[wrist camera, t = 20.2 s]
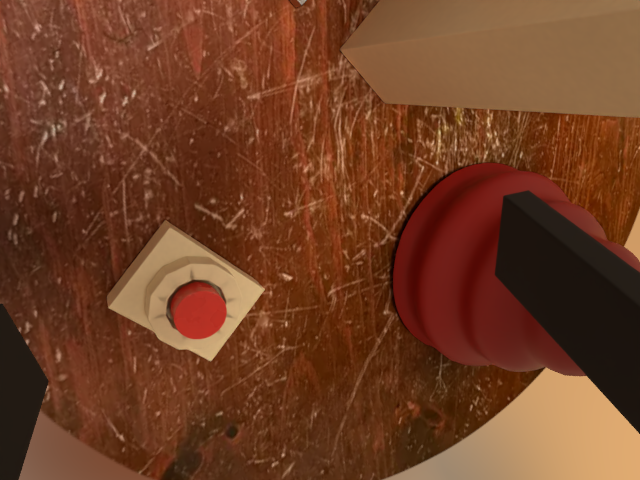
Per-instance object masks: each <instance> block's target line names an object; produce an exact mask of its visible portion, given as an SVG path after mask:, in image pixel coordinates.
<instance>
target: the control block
mask: <svg viewBox="0 0 640 480" xmlns="http://www.w3.org/2000/svg"><path fill="white" fill-rule="evenodd" d="M195 282H202V283H206V284H209V285H211V286H212V287H214V288H215V289H216V290H217V292H218V293H219V295H220V296H221V297H222V299H223V300H224V302H225V304H226V308H227V315H226V319H225V322H224V324H223V325H222V327H221V328H220V329H219V330H218V331H217V332H216V333H215V334H213V335H212V336H210V337H207V338H204V339H190V338H187V337H185V336H183V335H182V334H181V333H180V332H179V331H178V330H177V328H176V326H175V324H174V321H173V319H172V316H171V313H170V304H171V301H172V298H173V296H174V295H175V293H176V292H177V291H178V290H179V289H181V288H182V287H184V286H185V285H188V284H190V283H195ZM264 290H265V289H264V288H263V287H262V286H261V285H260V284H259V283H258V282H257V281H256V280H255V279H254V278H252V277H251V276H249V275H248V274H246V273H245V272H243V271H242V270H240V269H239V268H237V267H236V266H234V265H233V264H231V263H230V262H228V261H227V260H225V259H224V258H222V257H221V256H219V255H218V254H216V253H215V252H213V251H212V250H210V249H208V248H207V247H205V246H204V245H202V244H201V243H199V242H198V241H196V240H195V239H193V238H192V237H190V236H189V235H187V234H186V233H184V232H183V231H181V230H180V229H178V228H177V227H175V226H174V225H172V224H171V223H169V222H168V221H166V220H165V221H164V222H163V223H162V225H161V226H160V227H159V229H158V230H157V231H156V233H155V234H154V235H153V236H152V238H151V239H150V240H149V242H148V243H147V244H146V246H145V247H144V248H143V250H142V251H141V252H140V253H139V255H138V256H137V257H136V259H135V260H134V261H133V263H132V264H131V265H130V266H129V268H128V269H127V270H126V272H125V273H124V274H123V276H122V277H121V278H120V280H119V281H118V282H117V283H116V285H115V286H114V287H113V289H112V290H111V291H110V293H109V294H108V295H107V302H108V308H109V309H111V310H113V311H115V312H117V313H119V314H121V315H123V316H125V317H127V318H128V319H130V320H132V321H134V322H136V323H138V324H140V325H142V326H144V327H146V328H148V329H150V330H152V331H153V332H155V334H156V336H157V338H158V339H159V340H161V341H163V342H165V343H166V344H168V345H170V346H172V347H174V348H176V349H178V350H179V349H180V350H183V349H188V350H190V351H192V352H194V353H196V354H198V355H200V356H202V357H203V358H205V359H207V360H209V361H212V359H213V358H214V357H215V355H216V354H217V353H218V351H219V350H220V349H221V347H222V346H223V345H224V343H225V342H226V341H227V339H228V338H229V337H230V335H231V334H232V333H233V331H234V330H235V329H236V327H237V326H238V325H239V323H240V322H241V321H242V319H243V318H244V317H245V315H246V314H247V313H248V311H249V310H250V309H251V307H252V306H253V305H254V303H255V302H256V301H257V299H258V298H259V297H260V295H261V294H262V293H263V291H264Z"/></svg>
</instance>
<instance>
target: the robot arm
mask: <svg viewBox="0 0 640 480" xmlns="http://www.w3.org/2000/svg"><path fill="white" fill-rule="evenodd" d="M495 276H496V277H497V278H498V279H499V280H500V281H501V282H502V283H503V285H504V286H505V287H506V288H507V289H508V290H509V291H510V292H511V293H512V294H513V296H514V297H515V298H516V299H517V300H518V301H519V302H520V303H521V304H522V305H523V306H524V308H525V309H526V310H527V311H528V312H529V313H530V314H531V315H532V316H533V317H534V319H535V320H536V321H537V322H538V323H539V324H540V325H541V326H542V327H543V328H544V329H545V331H546V332H547V333H548V334H549V335H550V336H551V337H552V338H553V339H554V340H555V342H556V343H557V344H558V345H559V346H560V347H561V348H562V349H563V350H564V351H565V352H566V354H567V355H568V356H569V357H570V358H571V359H572V360H573V361H574V362H575V363H576V365H577V366H578V367H579V368H580V369H581V370H582V371H583V372H584V373H585V374H586V375H587V377H588V378H589V379H590V380H591V381H592V382H593V383H594V384H595V385H596V386H597V387H598V389H599V390H600V391H601V392H602V393H603V394H604V395H605V396H606V397H607V398H608V399H609V401H610V402H611V403H612V404H613V405H614V406H615V407H616V408H617V409H618V411H619V412H620V413H621V414H622V415H623V416H624V417H625V418H626V419H627V420H628V421H629V423H630V424H631V425H632V426H633V427H634V428H635V429H636V430H637V431H638V432H639V434H640V272H639V271H637V270H636V269H634V268H633V267H632V266H630V265H629V264H628V263H626V262H625V261H624V260H622V259H621V258H620V257H618V256H617V255H616V254H614V253H613V252H612V251H610V250H609V249H607V248H606V247H605V246H603V245H602V244H601V243H599V242H598V241H597V240H595V239H594V238H593V237H591V236H590V235H589V234H587V233H586V232H584V231H583V230H582V229H580V228H579V227H578V226H576V225H575V224H574V223H572V222H571V221H570V220H568V219H567V218H566V217H564V216H563V215H561V214H560V213H559V212H557V211H556V210H555V209H553V208H552V207H551V206H549V205H548V204H547V203H545V202H544V201H543V200H541V199H540V198H539V197H537V196H536V195H534V194H533V193H532V192H530V191H529V190H527V191H523V192H518V193H513V194H509V195H504V196H503V204H502V213H501V222H500V231H499V240H498V249H497V258H496V267H495ZM48 382H49V381H48V379H47V377H46V376H45V374H44V372H43V371H42V369H41V367H40V366H39V364H38V362H37V361H36V359H35V357H34V356H33V354H32V352H31V351H30V349H29V347H28V346H27V344H26V342H25V341H24V339H23V337H22V336H21V334H20V332H19V330H18V329H17V327H16V325H15V324H14V322H13V320H12V319H11V317H10V315H9V314H8V312H7V310H6V309H5V307H4V305H3V304H0V480H18V479H19V476H20V473H21V470H22V466H23V463H24V460H25V457H26V453H27V450H28V447H29V444H30V440H31V437H32V434H33V430H34V427H35V424H36V421H37V417H38V414H39V411H40V408H41V405H42V401H43V398H44V395H45V392H46V388H47V385H48Z"/></svg>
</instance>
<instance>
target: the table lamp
mask: <svg viewBox="0 0 640 480" xmlns="http://www.w3.org/2000/svg"><path fill="white" fill-rule="evenodd" d="M527 190H529V191H530V192H532V193H533V194H534V195H536V196H537V197H539V198H540V199H541V200H543V201H544V202H545V203H547V204H548V205H549V206H551V207H552V208H553V209H555V210H556V211H557V212H559V213H560V214H561V215H563V216H564V217H566V218H567V219H568V220H570V221H571V222H572V223H574V224H575V225H576V226H578V227H579V228H580V229H582V230H583V231H584V232H586V233H587V234H589V235H590V236H591V237H593V238H594V239H595V240H597V241H598V242H599V243H601V244H602V245H603V246H605V247H606V248H607V249H609V250H610V251H612V252H613V253H614V254H616V255H617V256H618V257H620V258H621V259H622V260H624V261H625V262H626V263H628V264H629V265H630V266H632V267H633V268H634V269H636V270H637V271H639V272H640V262H639V260H638V259H637V257H635V255H634V254H633V253H631V252H630V251H629V250H627V249H626V248H625V247H623V246H621V245H619V244H616V243H613V242H610V241H607V239H606V236H605V234H604V231H603V229H602V227H601V226H600V225H599V223H598V222H597V221H596V219H595V218H594V217H593V215H592V214H590V213H589V212H588V211H586V210H585V209H584V208H582V207H580V206H577V205H575V204H572V203H570V201H569V199H568V198H567V197H566V195H565V194H564V193H563V191H562V190H561V189H560V188H559V186H558V185H556V184H555V183H554V182H552V181H551V180H550V179H548V178H547V177H545V176H542V175H539V174H537V173H534V172H528V171H518V170H517V169H515V168H513V167H510V166H507V165H504V164H500V163H482V164H476V165H470V166H468V167H466V168H463V169H461V170H458V171H456V172H454V173H453V174H451V175H450V176H448V177H447V178H445V179H444V180H443V181H441V182H440V183H439V184H438V185H437V186H436V187H435V188H434V189H433V190H432V191H431V192H430V193H429V194H428V195H427V196H426V197H425V198H424V199H423V200H422V202H421V203H420V205H419V206H418V207H417V209H416V210H415V211H414V213H413V214H412V216H411V218H410V220H409V221H408V223H407V225H406V227H405V229H404V231H403V233H402V236H401V239H400V243H399V246H398V249H397V252H396V257H395V264H394V271H393V293H394V298H395V303H396V308H397V311H398V313H399V315H400V317H401V319H402V321H403V324H404V325H405V326H406V327H407V329H408V330H409V331H410V332H411V333H412V335H413V336H415V337H416V338H417V339H419V340H420V341H421V342H423V343H424V344H426V345H429V346H431V347H434V348H436V349H437V350H438V351H439V352H440V353H442V354H443V355H444V356H446V357H447V358H449V359H450V360H452V361H455V362H457V363H460V364H463V365H473V366H484V365H491V364H493V365H495V366H498V367H500V368H503V369H505V370H508V371H518V372H522V371H531V370H536V369H540V368H543V367H547V368H549V369H550V370H553V371H555V372H558V373H561V374H563V375H569V376H587V375H586V374H585V373H584V372H583V371H582V370H581V369H580V368H579V367H578V366H577V365H576V363H575V362H574V361H573V360H572V359H571V358H570V357H569V356H568V355H567V354H566V352H565V351H564V350H563V349H562V348H561V347H560V346H559V345H558V344H557V343H556V342H555V340H554V339H553V338H552V337H551V336H550V335H549V334H548V333H547V332H546V331H545V329H544V328H543V327H542V326H541V325H540V324H539V323H538V322H537V321H536V320H535V319H534V317H533V316H532V315H531V314H530V313H529V312H528V311H527V310H526V309H525V308H524V306H523V305H522V304H521V303H520V302H519V301H518V300H517V299H516V298H515V297H514V296H513V294H512V293H511V292H510V291H509V290H508V289H507V288H506V287H505V286H504V285H503V283H502V282H501V281H500V280H499V279H498V278H497V277H496V276H495V267H496V258H497V249H498V240H499V231H500V222H501V213H502V204H503V196H504V195H509V194H513V193H518V192H523V191H527Z"/></svg>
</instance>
